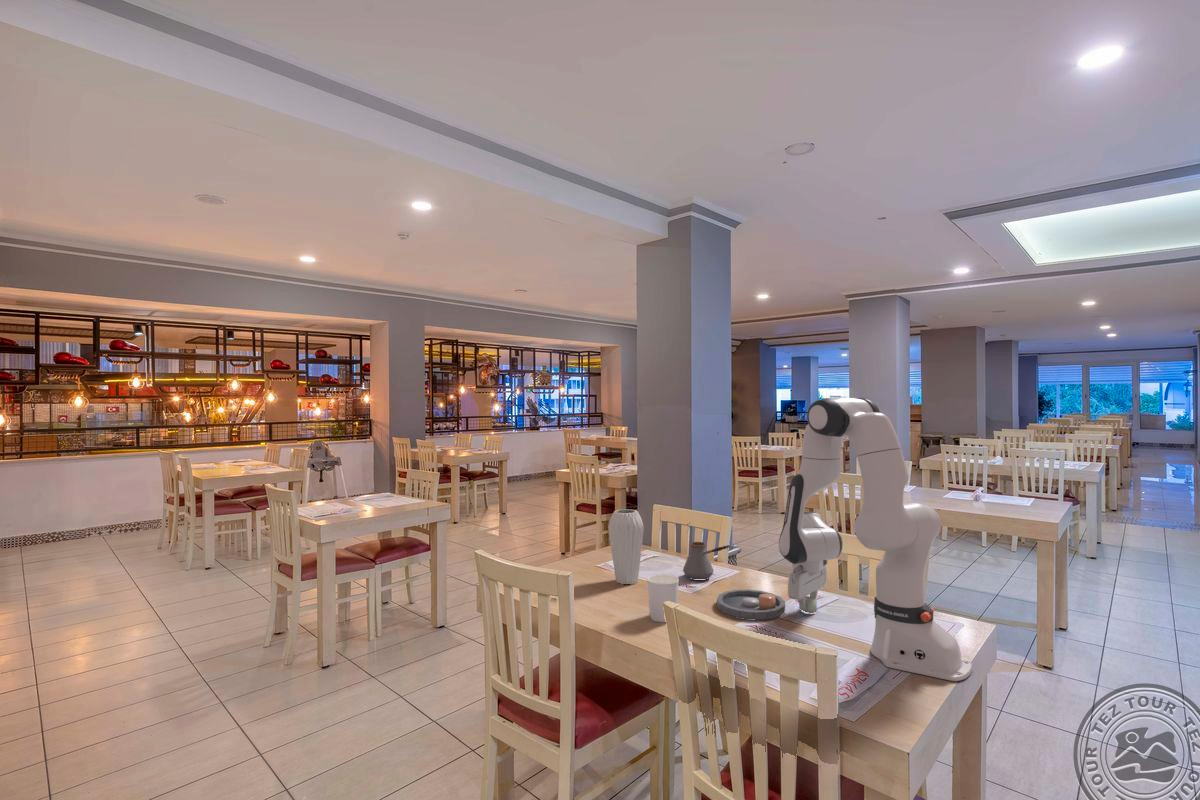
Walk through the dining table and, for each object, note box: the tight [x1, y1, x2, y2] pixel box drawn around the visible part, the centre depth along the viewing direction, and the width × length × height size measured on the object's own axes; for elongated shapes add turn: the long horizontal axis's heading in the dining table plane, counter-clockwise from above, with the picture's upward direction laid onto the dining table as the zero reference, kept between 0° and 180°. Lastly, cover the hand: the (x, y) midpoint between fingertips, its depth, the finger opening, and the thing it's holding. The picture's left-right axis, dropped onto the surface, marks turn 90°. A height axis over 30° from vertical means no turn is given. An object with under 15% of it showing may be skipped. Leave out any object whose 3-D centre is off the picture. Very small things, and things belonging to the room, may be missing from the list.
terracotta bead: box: [759, 594, 775, 610], centre depth 178 cm, size 5×5×4 cm
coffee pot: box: [682, 541, 733, 580], centre depth 211 cm, size 21×12×15 cm, turn 38°
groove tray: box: [716, 588, 786, 621], centre depth 182 cm, size 21×21×2 cm
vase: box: [607, 508, 644, 585], centre depth 212 cm, size 13×13×26 cm
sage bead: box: [803, 595, 818, 613], centre depth 178 cm, size 5×5×4 cm
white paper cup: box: [646, 573, 680, 623], centre depth 176 cm, size 10×10×12 cm
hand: (807, 606), depth 178 cm, fingers open, 5 cm apart
